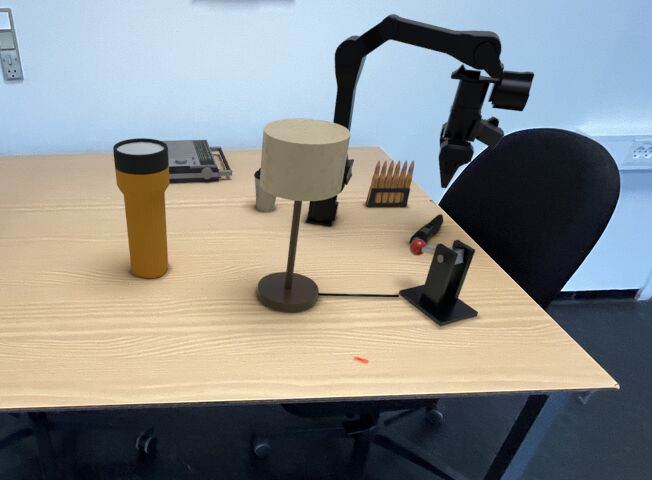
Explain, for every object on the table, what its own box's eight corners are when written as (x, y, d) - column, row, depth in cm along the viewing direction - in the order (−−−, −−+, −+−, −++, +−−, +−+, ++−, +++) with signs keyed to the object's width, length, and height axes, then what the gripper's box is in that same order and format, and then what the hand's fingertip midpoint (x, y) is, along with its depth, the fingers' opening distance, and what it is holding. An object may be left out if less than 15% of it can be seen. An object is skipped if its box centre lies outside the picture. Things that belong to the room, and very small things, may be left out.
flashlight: (102, 149, 93) (127, 133, 100) (117, 276, 109) (138, 255, 116) (153, 156, 90) (176, 139, 97) (161, 285, 107) (180, 262, 114)
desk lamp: (253, 315, 99) (265, 143, 79) (250, 277, 110) (261, 117, 90) (408, 318, 99) (459, 147, 79) (390, 279, 110) (431, 120, 90)
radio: (157, 138, 164) (220, 137, 166) (158, 155, 167) (220, 153, 170) (162, 165, 146) (233, 163, 148) (163, 184, 149) (232, 181, 151)
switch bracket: (398, 295, 105) (414, 236, 97) (433, 286, 108) (451, 229, 100) (439, 327, 97) (460, 266, 89) (476, 317, 100) (500, 257, 91)
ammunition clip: (367, 207, 139) (376, 161, 131) (365, 204, 140) (374, 159, 133) (406, 207, 139) (418, 161, 132) (404, 204, 141) (415, 159, 133)
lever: (405, 255, 105) (406, 239, 103) (418, 252, 106) (419, 236, 104) (451, 267, 94) (453, 250, 93) (465, 264, 95) (466, 246, 94)
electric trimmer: (445, 227, 130) (449, 215, 128) (422, 249, 121) (426, 236, 119) (430, 223, 132) (434, 211, 130) (407, 244, 122) (410, 232, 120)
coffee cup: (248, 210, 136) (250, 172, 129) (256, 201, 141) (259, 163, 134) (273, 215, 134) (277, 176, 127) (281, 205, 139) (285, 167, 132)
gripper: (514, 121, 98) (484, 202, 108) (506, 98, 111) (480, 171, 121) (451, 114, 100) (428, 193, 110) (451, 93, 114) (430, 165, 124)
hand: (443, 180), depth 116 cm, fingers open, 9 cm apart
